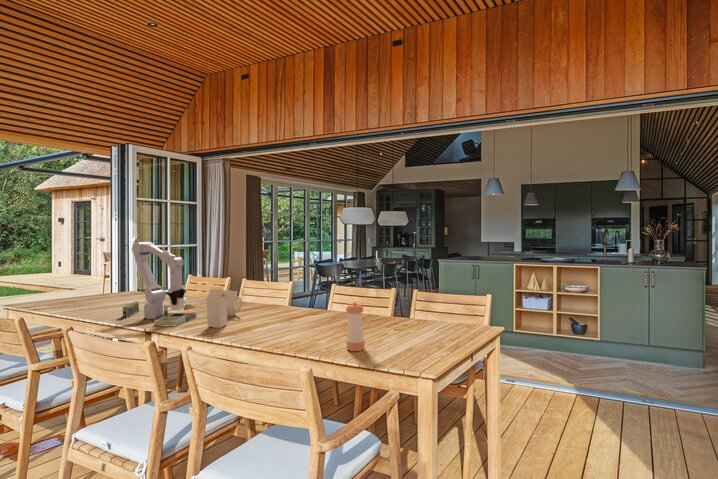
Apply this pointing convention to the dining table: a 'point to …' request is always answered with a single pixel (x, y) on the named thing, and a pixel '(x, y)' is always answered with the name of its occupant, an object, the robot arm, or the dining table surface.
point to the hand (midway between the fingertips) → (177, 303)
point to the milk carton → (216, 308)
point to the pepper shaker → (355, 328)
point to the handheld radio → (130, 309)
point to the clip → (167, 308)
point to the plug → (178, 304)
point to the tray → (170, 321)
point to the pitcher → (232, 302)
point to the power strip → (179, 315)
